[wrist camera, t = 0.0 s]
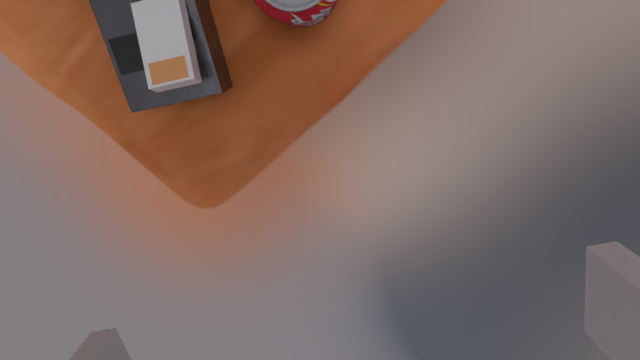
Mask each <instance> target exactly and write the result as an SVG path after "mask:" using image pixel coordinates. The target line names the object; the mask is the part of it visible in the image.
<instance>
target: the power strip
mask: <svg viewBox="0 0 640 360" xmlns="http://www.w3.org/2000/svg"><path fill="white" fill-rule="evenodd" d="M138 1H143V0H89V2H90V4H91V7H92V9H93V12H94V15H95V17H96V20H97V23H98V25H99V28H100V31H101V33H102V36H103V38H104V41H105V44H106V46H107V49H108V52H109V54H110V57H111V59H112V62H113V65H114V67H115V70H116V73H117V75H118V78H119V81H120V83H121V86H122V88H123V91H124V94H125V96H126V99H127V102H128V104H129V107H130V109H131V112H132V113H133V112H138V111H142V110H147V109H151V108H156V107H160V106H165V105H169V104H174V103H178V102H183V101H187V100H192V99H196V98H201V97H205V96H210V95H214V94H219V93H223V92H224V91H226V90H228V89H230V88H232V87H233V86H232V83H231V79H230V76H229V72H228V69H227V65H226V62H225V58H224V55H223V51H222V48H221V44H220V41H219V37H218V34H217V30H216V27H215V23H214V20H213V16H212V13H211V9H210V6H209V2H208V0H185V4H186V9H187V13H188V18H189V23H190V28H191V33H192V38H193V42H194V47H195V52H196V57H197V62H198V67H199V71H200V76H201V81H202V83H197V84H193V85H188V86H184V87H179V88H175V89H171V90H166V91H162V92H155V91H153V90H150V89H148V84H147V79H146V75H145V70H144V65H143V60H142V56H141V51H140V46H139V41H138V37H137V32H136V27H135V22H134V18H133V13H132V8H131V4H130V3H134V2H138Z"/></svg>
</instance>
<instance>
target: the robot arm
mask: <svg viewBox="0 0 640 360" xmlns="http://www.w3.org/2000/svg"><path fill="white" fill-rule="evenodd" d="M585 292H586V293H585V331H586V332H587V334H588V335H589V336H590V337H591V338H592V339H593V340H594V341H595V343H596V344H597V345H598V346H599V347H600V348H601V349H602V350H603V351H604V353H605V354H606V355H607V356H608V357H609V358H610V360H640V257H638V256H637V255H636V254H634V253H633V252H631V251H630V250H628V249H627V248H626V247H624V246H623V245H621V244H620V243H618V242H611V243H605V244H599V245H594V246H588V247H586V288H585ZM70 360H131V358H130V356H129V354H128V352H127V350H126V348H125V346H124V344H123V341H122V339H121V337H120V335H119V333H118V331H117V329H116V328H113V329H107V330H101V331H95V332H91V333H90V334H89V336H88V337H87V338H86V340H85V341H84V342H83V343H82V345H81V346H80V347H79V348H78V350H77V351H76V352H75V353H74V355H73V356H72V357H71V358H70Z"/></svg>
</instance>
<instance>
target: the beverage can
mask: <svg viewBox="0 0 640 360" xmlns="http://www.w3.org/2000/svg"><path fill="white" fill-rule="evenodd" d="M254 1H255V3H256V4H257V5H258V6H259V7H260V8H261V9H262V10H263V11H264V12H265V13H266V14H268V15H269V16H270V17H272V18H274V19H276V20H279V21H282V22H285V23H288V24H290V25H294V26H298V27H308V26H313V25H316V24H318V23H320V22H321V21H323V20H324V19H326V18H327V17H328V16H329V15H330V13H331V12H332V11H333V9H334V8H335V6H336V3H337V1H338V0H254Z"/></svg>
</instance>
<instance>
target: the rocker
mask: <svg viewBox="0 0 640 360" xmlns="http://www.w3.org/2000/svg"><path fill="white" fill-rule="evenodd" d="M130 4H131V8H132V13H133V18H134V22H135V27H136V32H137V37H138V41H139V46H140V51H141V56H142V60H143V65H144V70H145V75H146V79H147V84H148V89H150V90H153V91H155V92H162V91H166V90H171V89H175V88H179V87H184V86H188V85H193V84H197V83H202V81H201V76H200V71H199V67H198V62H197V57H196V52H195V47H194V42H193V38H192V33H191V28H190V23H189V18H188V13H187V9H186V4H185V0H143V1H138V2H134V3H130Z"/></svg>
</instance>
